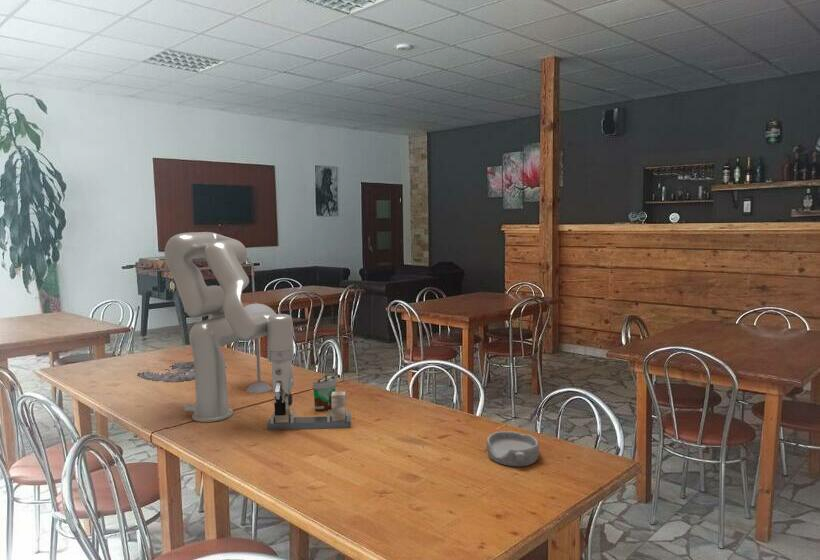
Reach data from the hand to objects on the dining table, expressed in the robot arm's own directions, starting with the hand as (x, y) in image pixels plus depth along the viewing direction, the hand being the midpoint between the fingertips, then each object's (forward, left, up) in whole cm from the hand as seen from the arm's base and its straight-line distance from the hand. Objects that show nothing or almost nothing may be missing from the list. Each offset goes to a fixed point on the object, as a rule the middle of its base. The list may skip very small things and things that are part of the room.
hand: (283, 409), depth 183 cm
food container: (+12, +18, -5) cm, 22 cm away
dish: (+65, -28, -6) cm, 71 cm away
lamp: (-16, +41, -5) cm, 44 cm away
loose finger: (0, 0, -3) cm, 3 cm away
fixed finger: (+17, 0, -3) cm, 17 cm away
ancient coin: (-55, +72, -6) cm, 91 cm away
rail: (+8, 0, -5) cm, 10 cm away
